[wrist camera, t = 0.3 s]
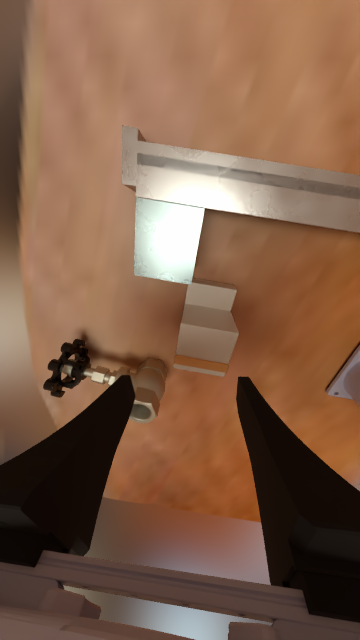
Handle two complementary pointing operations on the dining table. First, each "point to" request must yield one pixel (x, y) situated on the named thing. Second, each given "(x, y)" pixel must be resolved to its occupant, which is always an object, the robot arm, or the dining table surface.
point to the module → (207, 328)
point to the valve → (110, 379)
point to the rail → (221, 199)
